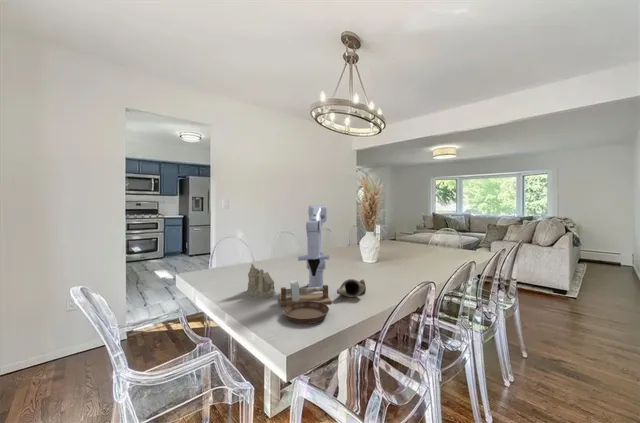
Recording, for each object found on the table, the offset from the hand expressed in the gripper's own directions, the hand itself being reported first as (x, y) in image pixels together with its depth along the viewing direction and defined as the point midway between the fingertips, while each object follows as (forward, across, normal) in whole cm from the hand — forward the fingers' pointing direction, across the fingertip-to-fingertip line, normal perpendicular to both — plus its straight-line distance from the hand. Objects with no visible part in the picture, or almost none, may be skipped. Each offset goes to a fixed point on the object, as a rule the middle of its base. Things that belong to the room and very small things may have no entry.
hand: (313, 275), depth 133 cm
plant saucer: (+10, -7, -22) cm, 25 cm away
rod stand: (+10, -5, -5) cm, 12 cm away
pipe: (+10, +19, -2) cm, 21 cm away
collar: (+9, -10, -5) cm, 14 cm away
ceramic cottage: (+10, -23, +12) cm, 28 cm away
